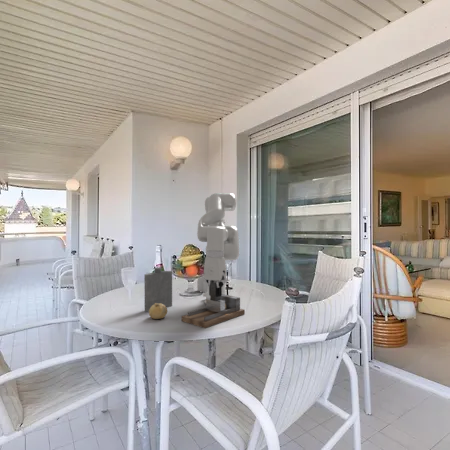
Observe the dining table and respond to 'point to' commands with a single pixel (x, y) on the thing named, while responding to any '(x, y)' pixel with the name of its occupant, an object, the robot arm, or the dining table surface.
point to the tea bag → (202, 285)
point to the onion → (157, 311)
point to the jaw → (214, 300)
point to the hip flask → (158, 288)
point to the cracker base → (215, 313)
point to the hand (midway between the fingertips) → (215, 295)
